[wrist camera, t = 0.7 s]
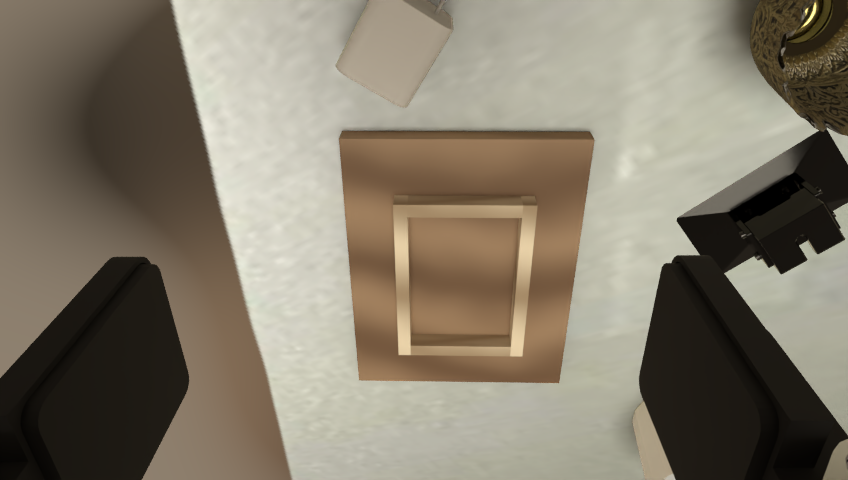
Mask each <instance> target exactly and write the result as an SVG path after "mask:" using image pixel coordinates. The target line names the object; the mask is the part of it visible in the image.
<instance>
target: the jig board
mask: <svg viewBox="0 0 848 480" xmlns="http://www.w3.org/2000/svg"><path fill="white" fill-rule="evenodd" d="M339 145H340V157H341V169H342V181H343V192H344V204H345V216H346V228H347V240H348V252H349V264H350V276H351V288H352V300H353V312H354V324H355V336H356V348H357V360H358V371H359V380H376V381H451V382H526V383H559V380H560V373H561V366H562V359H563V352H564V346H565V339H566V332H567V325H568V318H569V311H570V304H571V298H572V291H573V284H574V277H575V270H576V263H577V256H578V250H579V243H580V236H581V229H582V222H583V215H584V208H585V202H586V195H587V188H588V181H589V174H590V167H591V160H592V153H593V147H594V138H593V136H592V135H591V133H590V132H466V131H342V133H341V135H340V138H339Z"/></svg>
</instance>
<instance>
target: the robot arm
mask: <svg viewBox="0 0 848 480" xmlns="http://www.w3.org/2000/svg"><path fill="white" fill-rule="evenodd" d="M188 384H189V374H188V370H187V366H186V362H185V359H184V355H183V352H182V348H181V344H180V341H179V337H178V334H177V330H176V327H175V323H174V319H173V315H172V312H171V308H170V305H169V301H168V297H167V294H166V290H165V287H164V283H163V279H162V276H161V272H160V269H159V268H158V266H157V265H154V264H151V263H150V261H149V260H148V259H147V258H145V257H113V258H111V259H109V260H108V261H107V262H106V263H105V264H104V266H103V267H102V268H101V269H100V270H99V271H98V272H97V273H96V274H95V275H94V276H93V278H92V279H91V280H90V281H89V282H88V283H87V284H86V285H85V286H84V287H83V288H82V290H81V291H80V292H79V293H78V294H77V295H76V296H75V297H74V298H73V299H72V301H71V302H70V303H69V304H68V305H67V306H66V307H65V308H64V309H63V310H62V312H61V313H60V314H59V315H58V316H57V317H56V318H55V319H54V320H53V321H52V322H51V323H50V325H49V326H48V327H47V328H46V329H45V330H44V331H43V332H42V333H41V334H40V336H39V337H38V338H37V339H36V340H35V341H34V342H33V343H32V344H31V345H30V346H29V347H28V349H27V350H26V351H25V352H24V353H23V354H22V355H21V356H20V357H19V358H18V359H17V361H16V362H15V363H14V364H13V365H12V366H11V367H10V368H9V369H8V370H7V372H6V373H5V374H4V375H3V376H2V377H1V378H0V480H142V478H143V476H144V474H145V472H146V470H147V468H148V466H149V465H150V463H151V461H152V459H153V457H154V455H155V453H156V451H157V449H158V447H159V445H160V443H161V441H162V439H163V437H164V435H165V433H166V431H167V429H168V428H169V425H170V424H171V422H172V419H173V418H174V416H175V414H176V412H177V410H178V408H179V406H180V404H181V402H182V400H183V398H184V396H185V394H186V392H187V389H188ZM639 386H640V392H641V395H642V398H643V400H644V403H645V405H646V408H647V410H648V413H649V415H650V418H651V420H652V422H653V425H654V427H655V430H656V432H657V435H658V437H659V440H660V442H661V445H662V447H663V450H664V452H665V455H666V457H667V460H668V462H669V465H670V467H671V470H672V472H673V475H674V477H675V480H848V435H847V434H846V433H845V431H844V430H843V429H842V427H841V426H840V425H839V423H838V422H837V421H836V419H835V418H834V417H833V415H832V414H831V413H830V411H829V410H828V409H827V407H826V406H825V405H824V403H823V402H822V401H821V400H820V398H819V397H818V396H817V394H816V393H815V392H814V390H813V389H812V388H811V386H810V385H809V384H808V382H807V381H806V380H805V378H804V377H803V376H802V374H801V373H800V372H799V370H798V369H797V368H796V366H795V365H794V364H793V362H792V361H791V360H790V358H789V357H788V356H787V355H786V353H785V352H784V351H783V349H782V348H781V347H780V345H779V344H778V343H777V341H776V340H775V339H774V337H773V336H772V335H771V334H770V333H769V332H768V331H767V330H766V329H765V327H764V326H763V325H762V323H761V322H760V321H759V319H758V318H757V317H756V315H755V314H754V313H753V311H752V310H751V309H750V307H749V306H748V305H747V303H746V302H745V301H744V299H743V298H742V297H741V295H740V294H739V293H738V291H737V290H736V289H735V287H734V286H733V285H732V283H731V282H730V281H729V279H728V278H727V277H726V275H725V274H724V273H723V271H722V270H721V269H720V267H719V266H718V265H717V263H716V262H715V261H714V259H713V258H712V257H711V256H707V255H677V256H676V257H674V259H673V260H672V263H666V264H664V265H663V267H662V270H661V274H660V279H659V284H658V289H657V293H656V298H655V303H654V308H653V312H652V317H651V322H650V327H649V332H648V336H647V341H646V346H645V351H644V356H643V360H642V365H641V370H640V376H639Z"/></svg>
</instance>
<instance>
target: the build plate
mask: <svg viewBox="0 0 848 480" xmlns="http://www.w3.org/2000/svg"><path fill="white" fill-rule="evenodd" d="M846 203H848V164H847V163H846V161H845V159H844V158H843V156H842V154H841V153H840V151H839V149H838V147H837V146H836V144H835V142H834V141H833V139H832V137H831V136H830V134H829V132H828V131H827V129H825V130H824V132H822V131H818V132H816V133H815V134H813V135H811V136H810V137H808V138H807V139H805V140H803V141H802V142H800V143H798V144H797V145H795V146H793V147H792V148H790V149H789V150H787V151H785V152H784V153H782V154H780V155H779V156H777V157H776V158H774V159H772V160H771V161H769V162H767V163H766V164H764V165H763V166H761V167H759V168H758V169H756V170H754V171H753V172H751V173H750V174H748V175H746V176H745V177H743V178H741V179H740V180H738V181H737V182H735V183H733V184H732V185H730V186H728V187H727V188H725V189H724V190H722V191H720V192H719V193H717V194H715V195H714V196H712V197H711V198H709V199H707V200H706V201H704V202H702V203H701V204H699V205H698V206H696V207H694V208H693V209H691V210H689V211H688V212H686V213H685V214H683V215H681V216H680V217H678V218H677V222H678V224H679V225H680V226H681V228H682V229H683V231H684V232H685V234H686V235H687V237H688V238H689V240H690V241H691V242H692V244H693V245H694V247H695V248H696V250H697V251H698V253H699V254H700V255H707V256H711V257H712V258H713V259H714V261H715V262H716V263H717V265H718V266H719V267H720V269H721V270H722V271H723V273H725V272H727V271H729V270H731V269H732V268H734V267H736V266H738V265H739V264H741V263H743V262H745V261H746V260H748V259H750V258H752V257H753V256H754V257H755V258H756V259H757V260H760V259H762V261H763V262H764V263H765V264H766V265H767V266H768V268H770V267H772V266H774V267H775V268H776V269H777V270H778V271H779V273H780V274H783V273H785V272H787V271H789V270H791V269H792V268H794V267H796V266H798V265H800V264H802V263H803V262H805V261H807V258H806V256H805V255H804V253H803V252H802V250H801V248H800V247H799V245H801V244H802V243H804V242H806V241H808V243H809V244H810V246H811V247H812V249H813V251H814V252H815V253H817V254H820V253H822V252H823V251H825V250H827V249H829V248H831V247H833V246H834V245H836V244H838V243H840V242H842V241H844V240H845V238H844V236H843V235H842V233H841V231H840V226H839V224H838V222H837V221H836V219H835V217H836V215H835V214H834V212H833V211H834V210H835V209H837V208H839V207H841V206H842V205H844V204H846Z"/></svg>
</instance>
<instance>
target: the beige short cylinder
mask: <svg viewBox="0 0 848 480" xmlns="http://www.w3.org/2000/svg"><path fill="white" fill-rule="evenodd" d="M632 423H633V427H634V432H635V436H636V441H637V445H638V449H639V454H640V458H641V462H642V467H643V471H644V476H645V480H675V477H674V475H673V472H672V470H671V467H670V465H669V462H668V460H667V457H666V455H665V452H664V450H663V447H662V445H661V442H660V440H659V437H658V435H657V432H656V430H655V427H654V425H653V422H652V420H651V418H650V415H649V413H648V410H647V408H646V405H645V403H644V401H643V402H642V403H641V404H640V405H639V406H638V408H637V409H636V410H635V412H634V416H633V420H632Z"/></svg>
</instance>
